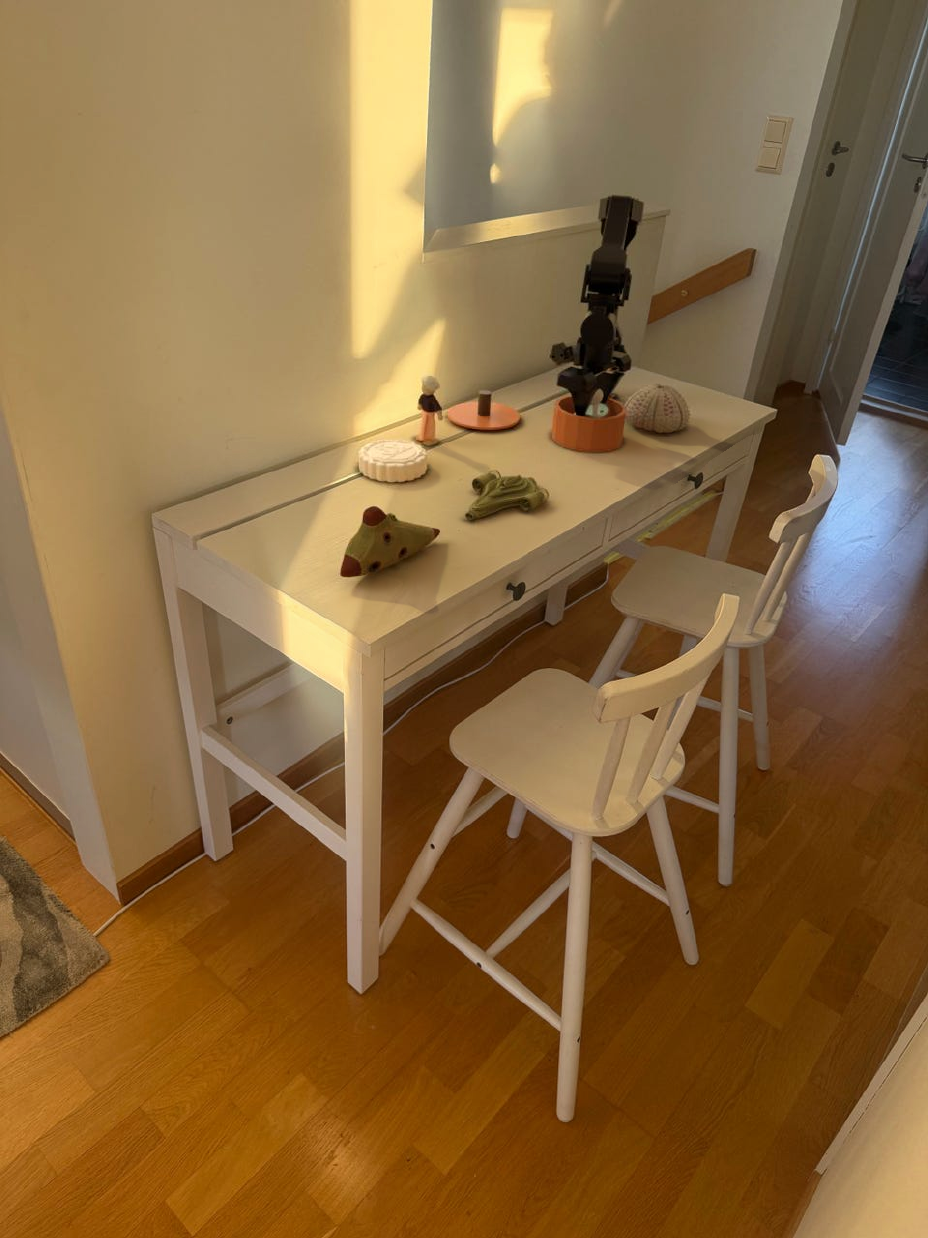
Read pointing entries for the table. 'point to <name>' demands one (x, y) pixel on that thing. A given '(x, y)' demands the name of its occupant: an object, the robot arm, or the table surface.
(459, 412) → the lid
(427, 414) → the grandmother figurine
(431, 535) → the ocarina
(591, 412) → the pacifier
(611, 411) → the pot
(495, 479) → the spaceship toy
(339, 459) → the table surface
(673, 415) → the sea urchin shell
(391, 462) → the mooncake
